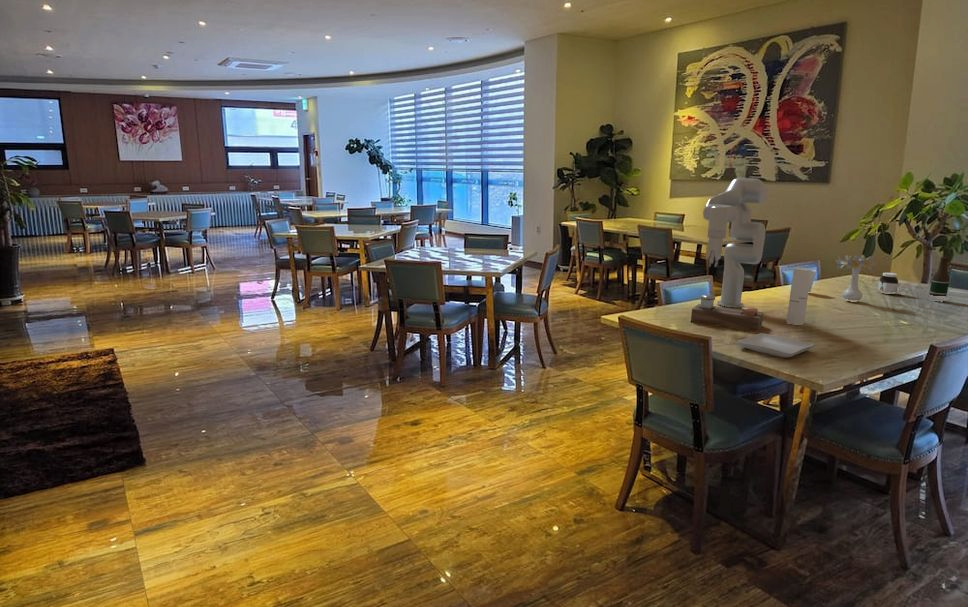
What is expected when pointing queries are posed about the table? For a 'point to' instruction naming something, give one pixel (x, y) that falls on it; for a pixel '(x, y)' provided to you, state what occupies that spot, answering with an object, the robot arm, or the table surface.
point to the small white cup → (707, 301)
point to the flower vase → (854, 274)
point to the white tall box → (798, 296)
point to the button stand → (727, 318)
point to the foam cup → (812, 279)
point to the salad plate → (775, 345)
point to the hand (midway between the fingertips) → (712, 275)
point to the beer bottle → (940, 279)
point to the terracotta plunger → (749, 310)
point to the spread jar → (889, 283)
